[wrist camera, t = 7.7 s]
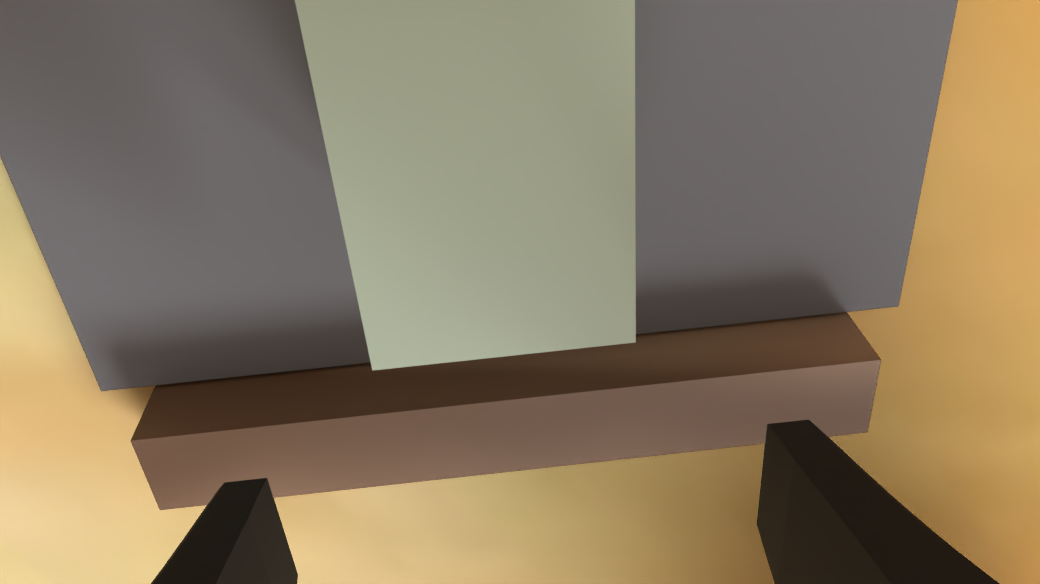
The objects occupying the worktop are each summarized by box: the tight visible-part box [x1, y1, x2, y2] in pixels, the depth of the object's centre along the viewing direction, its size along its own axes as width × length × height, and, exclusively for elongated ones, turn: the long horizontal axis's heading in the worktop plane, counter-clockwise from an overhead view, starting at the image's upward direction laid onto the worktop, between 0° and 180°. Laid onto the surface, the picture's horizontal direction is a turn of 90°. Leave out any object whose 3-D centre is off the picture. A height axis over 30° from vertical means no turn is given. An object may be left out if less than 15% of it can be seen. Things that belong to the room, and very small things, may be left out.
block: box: [295, 0, 636, 371], centre depth 12 cm, size 4×4×7 cm
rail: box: [131, 312, 881, 510], centre depth 17 cm, size 2×14×2 cm, turn 94°
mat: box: [0, 0, 958, 391], centre depth 15 cm, size 9×16×1 cm, turn 94°
